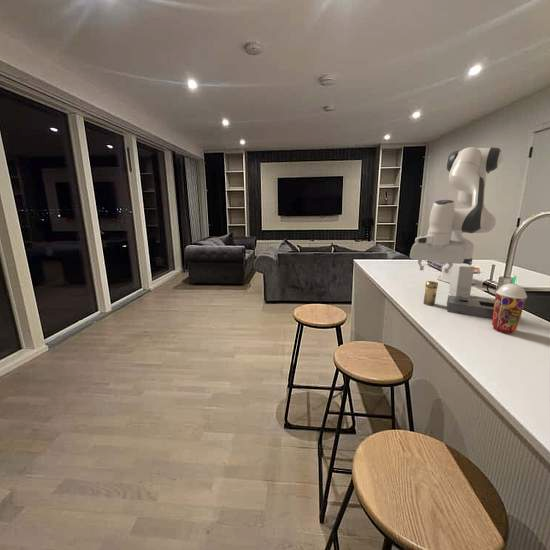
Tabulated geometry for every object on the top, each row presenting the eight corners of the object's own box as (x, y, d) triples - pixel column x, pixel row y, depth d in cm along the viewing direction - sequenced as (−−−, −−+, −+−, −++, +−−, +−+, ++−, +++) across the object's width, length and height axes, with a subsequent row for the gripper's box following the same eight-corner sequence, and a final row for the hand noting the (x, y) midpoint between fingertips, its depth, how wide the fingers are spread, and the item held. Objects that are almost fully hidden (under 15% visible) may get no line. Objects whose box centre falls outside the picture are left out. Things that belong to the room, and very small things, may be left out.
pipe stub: (423, 301, 129) (426, 280, 126) (434, 303, 127) (438, 282, 124) (422, 304, 125) (425, 283, 123) (434, 306, 123) (437, 284, 120)
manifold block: (446, 303, 126) (448, 295, 125) (502, 312, 117) (504, 302, 116) (447, 311, 117) (448, 302, 116) (507, 321, 107) (510, 311, 106)
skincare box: (469, 299, 132) (475, 266, 128) (454, 298, 134) (459, 266, 130) (462, 293, 140) (467, 263, 136) (447, 292, 142) (452, 262, 138)
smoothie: (510, 337, 95) (524, 280, 90) (483, 328, 102) (494, 274, 97) (523, 332, 98) (536, 277, 93) (496, 323, 106) (507, 272, 100)
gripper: (467, 240, 116) (461, 272, 120) (412, 237, 126) (408, 267, 129) (468, 242, 111) (462, 275, 114) (411, 238, 121) (407, 270, 124)
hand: (433, 271), depth 122 cm, fingers open, 8 cm apart
